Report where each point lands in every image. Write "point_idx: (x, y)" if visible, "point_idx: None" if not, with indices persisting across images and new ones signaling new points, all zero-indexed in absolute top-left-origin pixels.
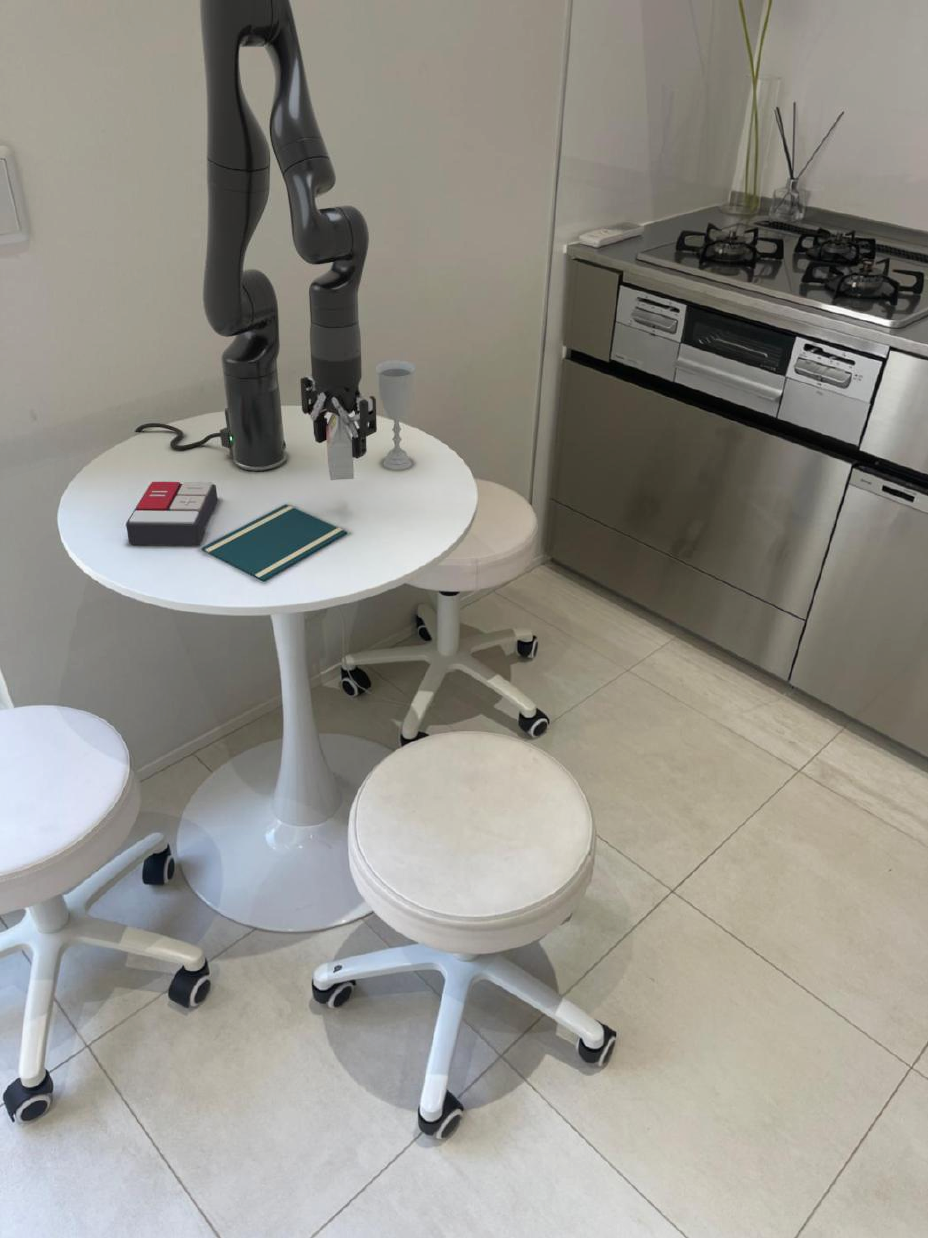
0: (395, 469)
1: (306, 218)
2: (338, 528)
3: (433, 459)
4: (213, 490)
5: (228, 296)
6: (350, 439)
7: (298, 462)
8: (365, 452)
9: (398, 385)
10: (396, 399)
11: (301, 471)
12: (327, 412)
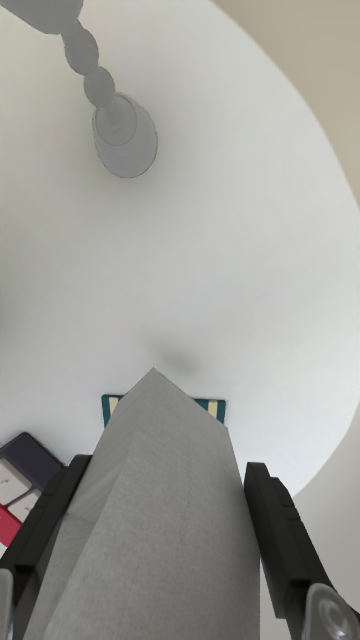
0: (143, 171)
1: None
2: (210, 403)
3: (176, 46)
4: (18, 464)
5: None
6: (243, 561)
7: None
8: (280, 482)
9: None
10: None
11: (24, 301)
12: (9, 624)
